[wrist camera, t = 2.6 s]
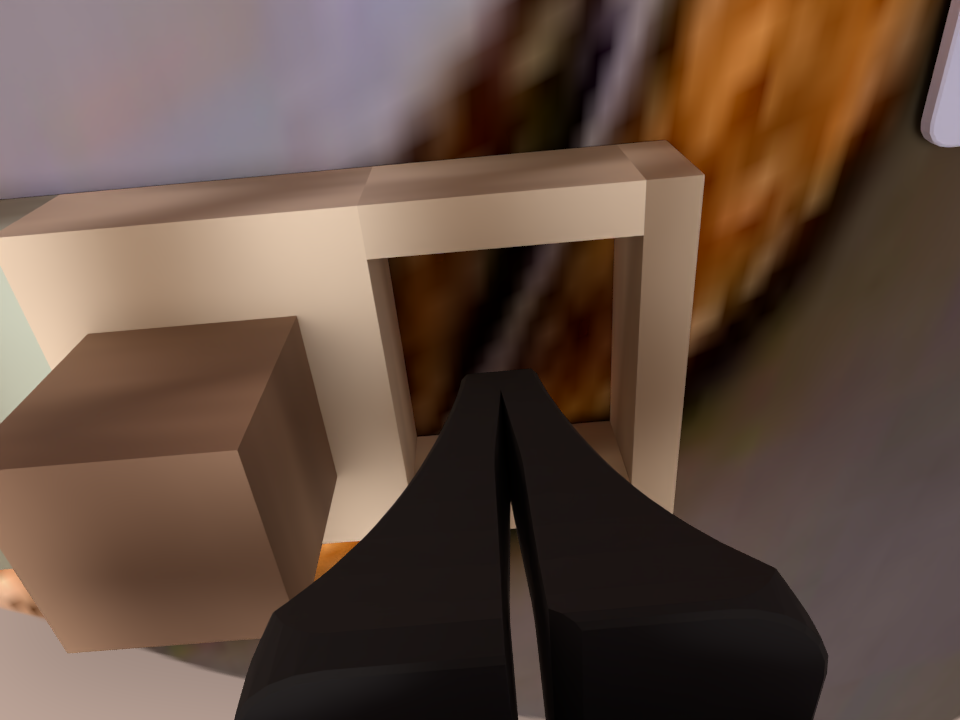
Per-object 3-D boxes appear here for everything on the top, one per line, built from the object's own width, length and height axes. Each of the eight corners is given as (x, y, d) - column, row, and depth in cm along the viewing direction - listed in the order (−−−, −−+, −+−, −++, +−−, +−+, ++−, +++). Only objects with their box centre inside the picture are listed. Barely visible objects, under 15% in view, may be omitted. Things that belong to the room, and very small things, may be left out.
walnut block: (297, 315, 13) (237, 450, 9) (337, 476, 15) (300, 635, 11) (87, 334, 13) (-48, 473, 9) (157, 491, 15) (67, 653, 11)
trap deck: (666, 140, 14) (705, 174, 11) (646, 448, 18) (672, 515, 16) (-459, 241, 14) (-624, 293, 12) (-220, 519, 18) (-310, 594, 16)
